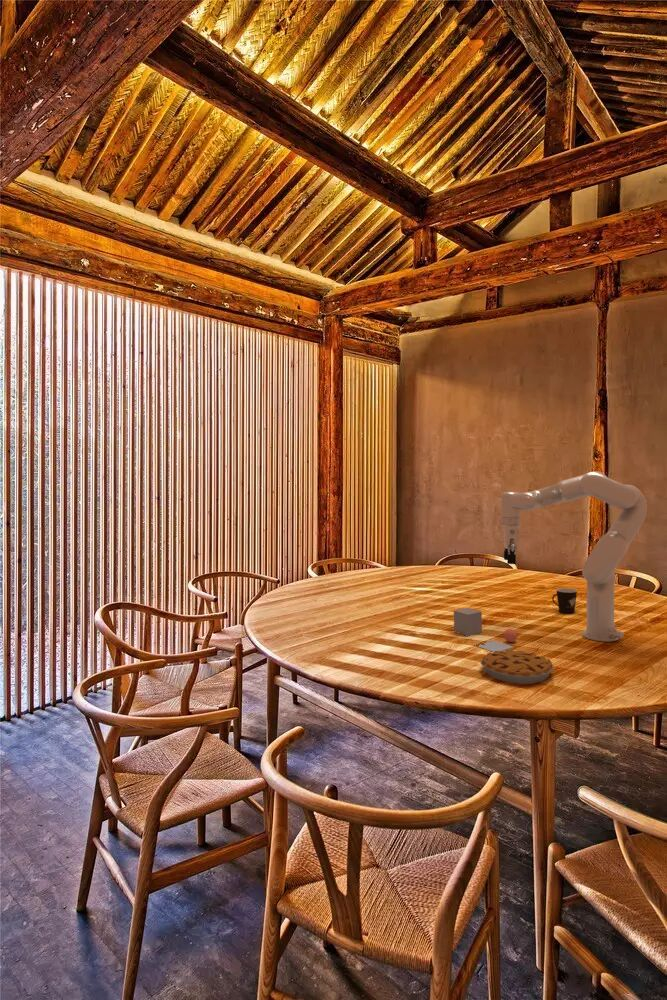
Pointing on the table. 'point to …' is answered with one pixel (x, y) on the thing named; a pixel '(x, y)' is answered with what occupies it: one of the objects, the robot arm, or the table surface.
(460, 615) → the grey block
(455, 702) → the table surface
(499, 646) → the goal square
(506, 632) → the ball
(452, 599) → the table surface
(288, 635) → the table surface
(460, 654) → the table surface
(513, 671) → the pie
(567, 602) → the coffee mug
